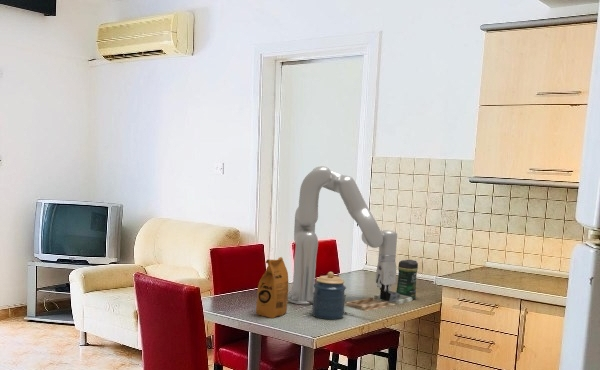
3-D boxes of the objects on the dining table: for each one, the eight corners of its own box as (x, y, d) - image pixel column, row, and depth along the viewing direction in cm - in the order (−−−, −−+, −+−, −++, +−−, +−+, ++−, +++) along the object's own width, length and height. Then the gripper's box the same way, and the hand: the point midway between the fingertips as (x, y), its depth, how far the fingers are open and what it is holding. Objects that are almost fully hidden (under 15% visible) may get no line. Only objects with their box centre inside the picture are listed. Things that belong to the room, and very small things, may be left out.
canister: (324, 309, 232) (327, 267, 232) (350, 316, 224) (353, 272, 223) (305, 314, 222) (308, 270, 222) (331, 321, 214) (334, 275, 213)
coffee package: (251, 314, 216) (255, 258, 216) (269, 309, 227) (273, 255, 227) (272, 319, 211) (276, 261, 211) (290, 313, 222) (294, 258, 221)
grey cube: (393, 301, 250) (395, 292, 251) (386, 299, 253) (388, 290, 254) (398, 302, 253) (400, 294, 254) (390, 301, 256) (392, 292, 257)
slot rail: (366, 314, 228) (366, 307, 228) (343, 308, 237) (343, 301, 237) (412, 304, 255) (412, 297, 255) (390, 298, 263) (390, 292, 263)
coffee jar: (407, 301, 259) (410, 261, 259) (393, 298, 264) (396, 259, 264) (418, 299, 266) (421, 260, 266) (403, 295, 272) (406, 257, 271)
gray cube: (388, 302, 247) (391, 293, 248) (381, 300, 250) (383, 291, 251) (393, 304, 250) (395, 295, 251) (386, 302, 253) (388, 293, 253)
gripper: (384, 260, 240) (381, 303, 240) (403, 258, 251) (400, 299, 251) (370, 258, 245) (367, 299, 245) (389, 256, 256) (386, 296, 256)
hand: (383, 299), depth 248 cm, fingers closed
